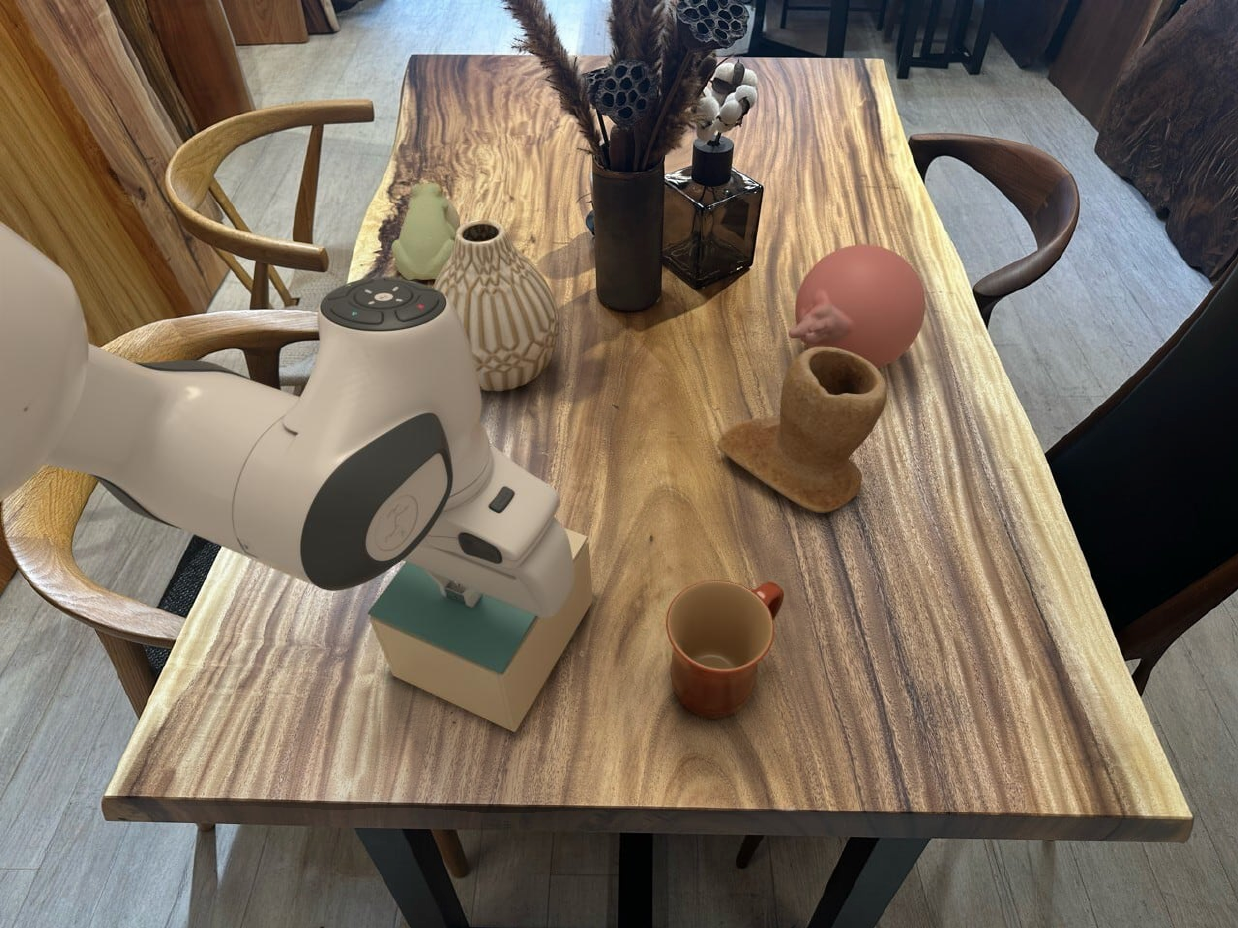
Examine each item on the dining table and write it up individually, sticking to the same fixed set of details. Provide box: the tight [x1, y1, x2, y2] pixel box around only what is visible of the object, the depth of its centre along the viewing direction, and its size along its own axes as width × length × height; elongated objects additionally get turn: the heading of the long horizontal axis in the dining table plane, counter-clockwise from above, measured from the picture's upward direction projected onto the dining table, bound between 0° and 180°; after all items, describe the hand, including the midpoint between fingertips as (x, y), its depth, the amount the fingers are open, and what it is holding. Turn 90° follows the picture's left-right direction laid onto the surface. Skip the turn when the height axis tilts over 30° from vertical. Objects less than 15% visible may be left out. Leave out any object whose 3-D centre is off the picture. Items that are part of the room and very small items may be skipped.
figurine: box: [390, 182, 461, 281], centre depth 119 cm, size 10×16×10 cm, turn 179°
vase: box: [432, 218, 560, 392], centre depth 97 cm, size 16×16×20 cm
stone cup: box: [716, 346, 888, 514], centre depth 86 cm, size 15×12×15 cm
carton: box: [368, 527, 593, 733], centre depth 73 cm, size 15×13×10 cm
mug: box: [665, 579, 785, 720], centre depth 70 cm, size 12×9×10 cm
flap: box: [367, 561, 537, 674], centre depth 67 cm, size 7×13×1 cm, turn 65°
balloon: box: [788, 244, 926, 369], centre depth 99 cm, size 15×20×15 cm
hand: (462, 595), depth 67 cm, fingers closed
